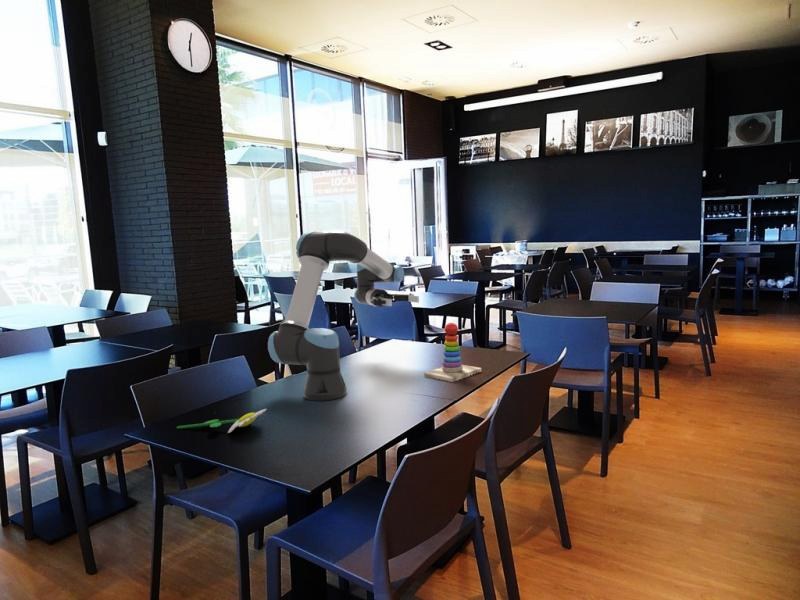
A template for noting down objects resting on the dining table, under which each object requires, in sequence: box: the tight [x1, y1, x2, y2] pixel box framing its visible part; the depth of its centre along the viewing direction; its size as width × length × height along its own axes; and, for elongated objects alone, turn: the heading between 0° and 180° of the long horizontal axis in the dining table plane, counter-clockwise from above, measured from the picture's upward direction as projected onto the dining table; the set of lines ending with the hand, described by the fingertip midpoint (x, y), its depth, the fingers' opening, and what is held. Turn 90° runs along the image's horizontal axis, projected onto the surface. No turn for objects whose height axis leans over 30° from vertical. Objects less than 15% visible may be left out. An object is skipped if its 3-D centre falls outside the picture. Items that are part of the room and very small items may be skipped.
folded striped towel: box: [423, 364, 482, 383], centre depth 216 cm, size 18×14×2 cm
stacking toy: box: [441, 322, 463, 372], centre depth 214 cm, size 8×8×19 cm
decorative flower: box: [176, 408, 267, 434], centre depth 166 cm, size 13×5×30 cm
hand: (404, 301), depth 227 cm, fingers open, 13 cm apart
